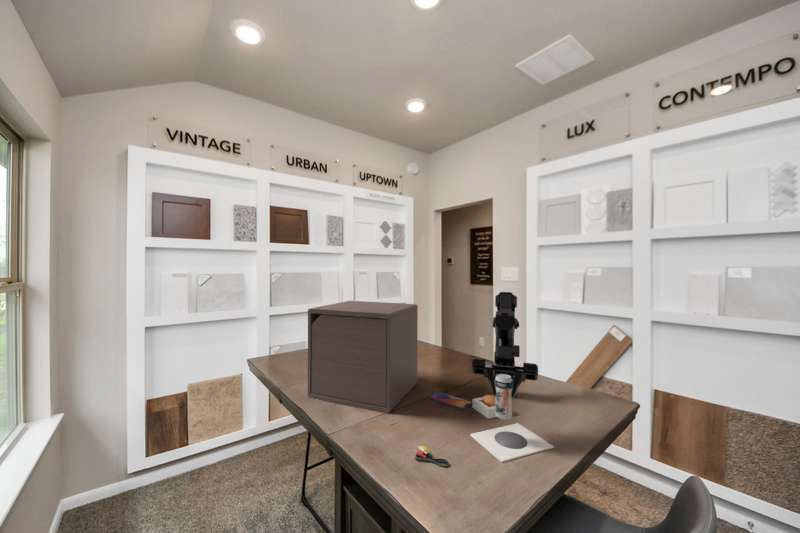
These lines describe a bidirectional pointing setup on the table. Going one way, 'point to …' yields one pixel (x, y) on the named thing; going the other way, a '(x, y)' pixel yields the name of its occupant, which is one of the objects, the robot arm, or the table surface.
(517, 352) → the robot arm
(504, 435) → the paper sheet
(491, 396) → the button
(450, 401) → the smartphone
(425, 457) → the composite cable
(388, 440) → the table surface
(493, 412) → the button housing
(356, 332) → the storage cube
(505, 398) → the beer can
